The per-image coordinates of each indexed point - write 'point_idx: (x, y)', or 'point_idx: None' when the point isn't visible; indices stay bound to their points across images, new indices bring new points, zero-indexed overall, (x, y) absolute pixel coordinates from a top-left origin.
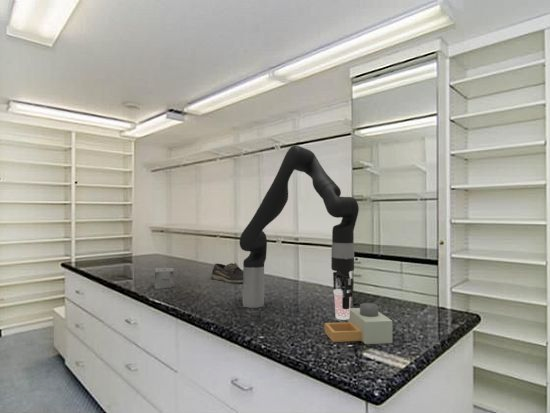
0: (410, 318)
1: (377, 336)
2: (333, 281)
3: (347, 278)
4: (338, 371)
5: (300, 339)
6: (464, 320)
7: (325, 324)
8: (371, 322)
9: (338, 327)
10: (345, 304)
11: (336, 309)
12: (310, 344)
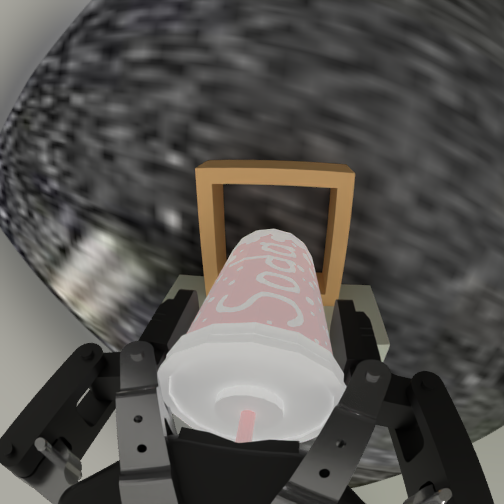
0: (371, 440)
1: None
2: (463, 431)
3: (30, 484)
4: (17, 134)
5: (256, 25)
6: None
7: (336, 171)
8: None
9: (329, 235)
10: (154, 317)
11: (248, 254)
12: (189, 58)
